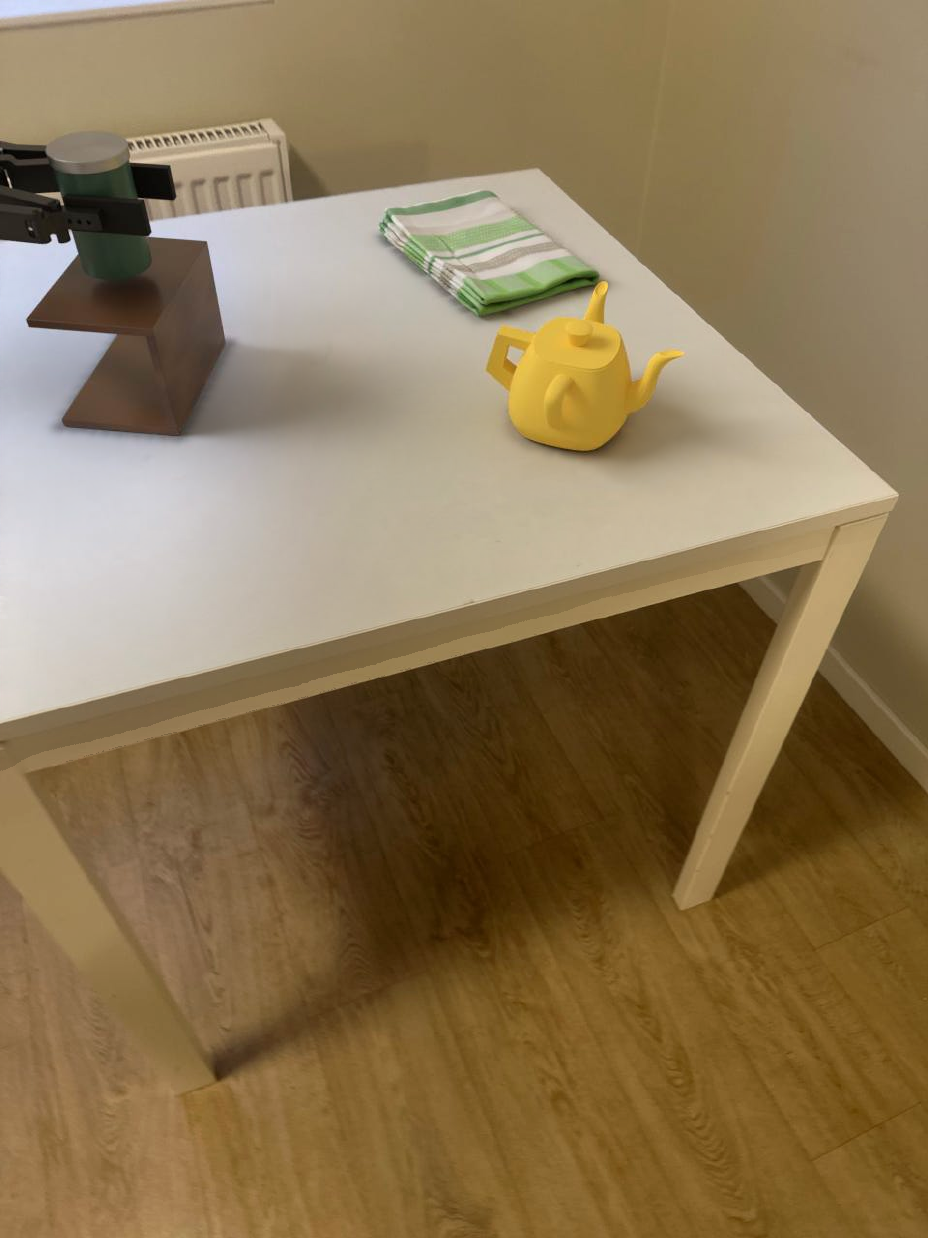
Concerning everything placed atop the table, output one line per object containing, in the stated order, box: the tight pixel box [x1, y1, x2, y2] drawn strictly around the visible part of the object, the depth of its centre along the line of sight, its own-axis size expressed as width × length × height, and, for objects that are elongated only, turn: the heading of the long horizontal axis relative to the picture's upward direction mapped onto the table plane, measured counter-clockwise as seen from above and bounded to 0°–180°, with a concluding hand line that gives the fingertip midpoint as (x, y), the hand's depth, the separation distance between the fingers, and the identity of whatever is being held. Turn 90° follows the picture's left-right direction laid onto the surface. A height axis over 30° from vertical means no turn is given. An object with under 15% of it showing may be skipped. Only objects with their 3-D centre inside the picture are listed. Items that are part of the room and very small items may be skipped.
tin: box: [46, 130, 152, 280], centre depth 79 cm, size 6×6×10 cm
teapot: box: [484, 280, 685, 452], centre depth 86 cm, size 14×13×10 cm
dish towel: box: [377, 189, 600, 317], centre depth 109 cm, size 17×23×4 cm
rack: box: [25, 236, 227, 437], centre depth 88 cm, size 16×11×11 cm
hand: (159, 199), depth 78 cm, fingers closed on tin, 6 cm apart
